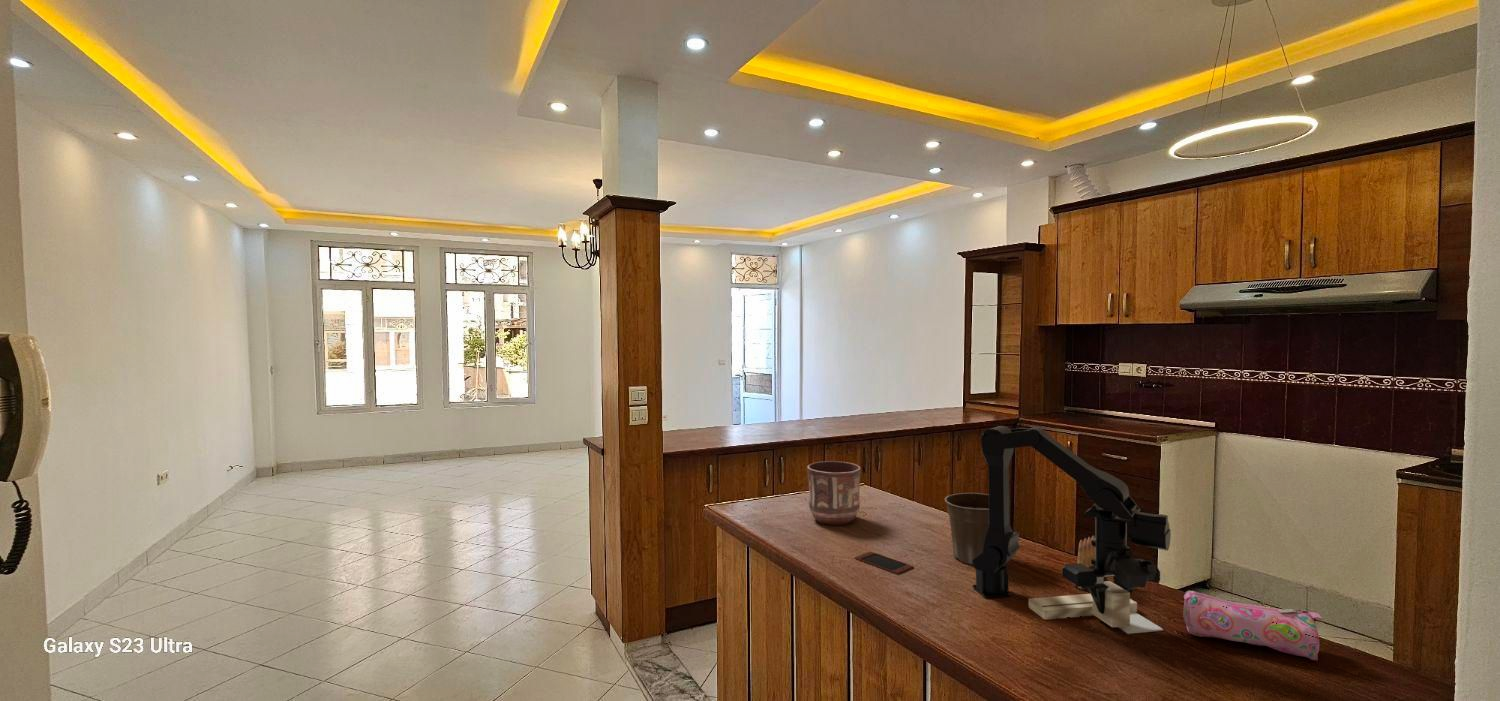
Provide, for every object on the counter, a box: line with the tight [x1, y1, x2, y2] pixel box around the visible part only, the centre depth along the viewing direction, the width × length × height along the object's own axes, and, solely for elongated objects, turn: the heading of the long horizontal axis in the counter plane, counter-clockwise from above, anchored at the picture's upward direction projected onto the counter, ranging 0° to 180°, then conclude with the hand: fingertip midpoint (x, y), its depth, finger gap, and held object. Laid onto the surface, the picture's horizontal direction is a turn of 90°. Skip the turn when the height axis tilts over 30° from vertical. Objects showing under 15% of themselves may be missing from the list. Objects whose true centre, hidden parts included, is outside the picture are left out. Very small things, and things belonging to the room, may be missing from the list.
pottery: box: [806, 460, 862, 526], centre depth 207 cm, size 18×18×18 cm
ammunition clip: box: [1075, 535, 1108, 592], centre depth 153 cm, size 11×2×12 cm, turn 122°
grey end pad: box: [1118, 612, 1164, 635], centre depth 133 cm, size 8×8×1 cm
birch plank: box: [1028, 593, 1138, 620], centre depth 140 cm, size 22×6×2 cm, turn 98°
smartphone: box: [854, 551, 915, 576], centre depth 169 cm, size 7×1×15 cm
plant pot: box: [944, 492, 989, 566], centre depth 171 cm, size 16×16×16 cm
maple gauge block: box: [1093, 580, 1131, 628], centre depth 132 cm, size 4×6×7 cm, turn 7°
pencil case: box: [1182, 590, 1323, 662], centre depth 123 cm, size 21×9×9 cm, turn 59°
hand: (1110, 612), depth 132 cm, fingers closed on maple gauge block, 4 cm apart
